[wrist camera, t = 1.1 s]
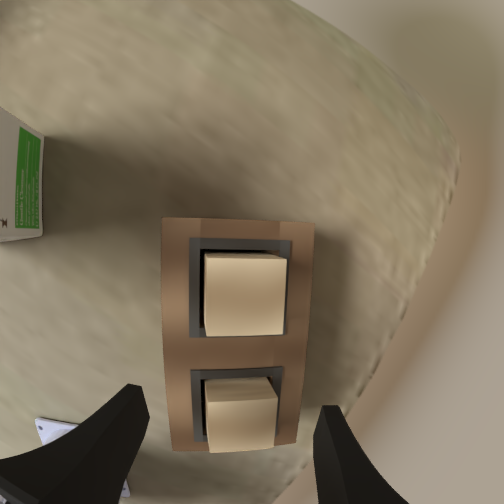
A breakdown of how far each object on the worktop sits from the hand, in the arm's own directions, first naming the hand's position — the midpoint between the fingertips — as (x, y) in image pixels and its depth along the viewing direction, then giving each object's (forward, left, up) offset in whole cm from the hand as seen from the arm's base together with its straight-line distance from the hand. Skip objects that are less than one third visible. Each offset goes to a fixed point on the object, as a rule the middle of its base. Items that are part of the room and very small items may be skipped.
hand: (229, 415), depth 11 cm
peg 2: (-4, -1, -9) cm, 10 cm away
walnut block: (0, -1, -12) cm, 12 cm away
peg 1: (+4, -1, -9) cm, 10 cm away
